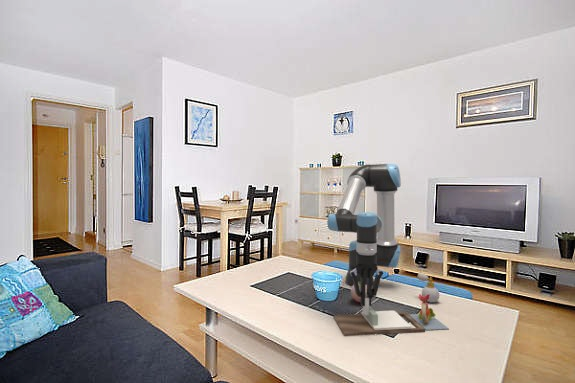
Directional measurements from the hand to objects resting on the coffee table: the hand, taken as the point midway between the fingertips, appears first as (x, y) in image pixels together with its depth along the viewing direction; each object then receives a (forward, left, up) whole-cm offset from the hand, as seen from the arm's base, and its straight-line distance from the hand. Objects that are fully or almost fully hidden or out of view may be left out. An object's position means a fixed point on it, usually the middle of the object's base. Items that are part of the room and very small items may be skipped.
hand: (365, 313), depth 117 cm
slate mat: (0, +25, -4) cm, 26 cm away
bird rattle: (0, +24, -4) cm, 25 cm away
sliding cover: (0, +8, -3) cm, 8 cm away
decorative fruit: (-21, +5, -5) cm, 22 cm away
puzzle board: (0, +4, -4) cm, 6 cm away
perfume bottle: (-20, +37, -5) cm, 43 cm away
